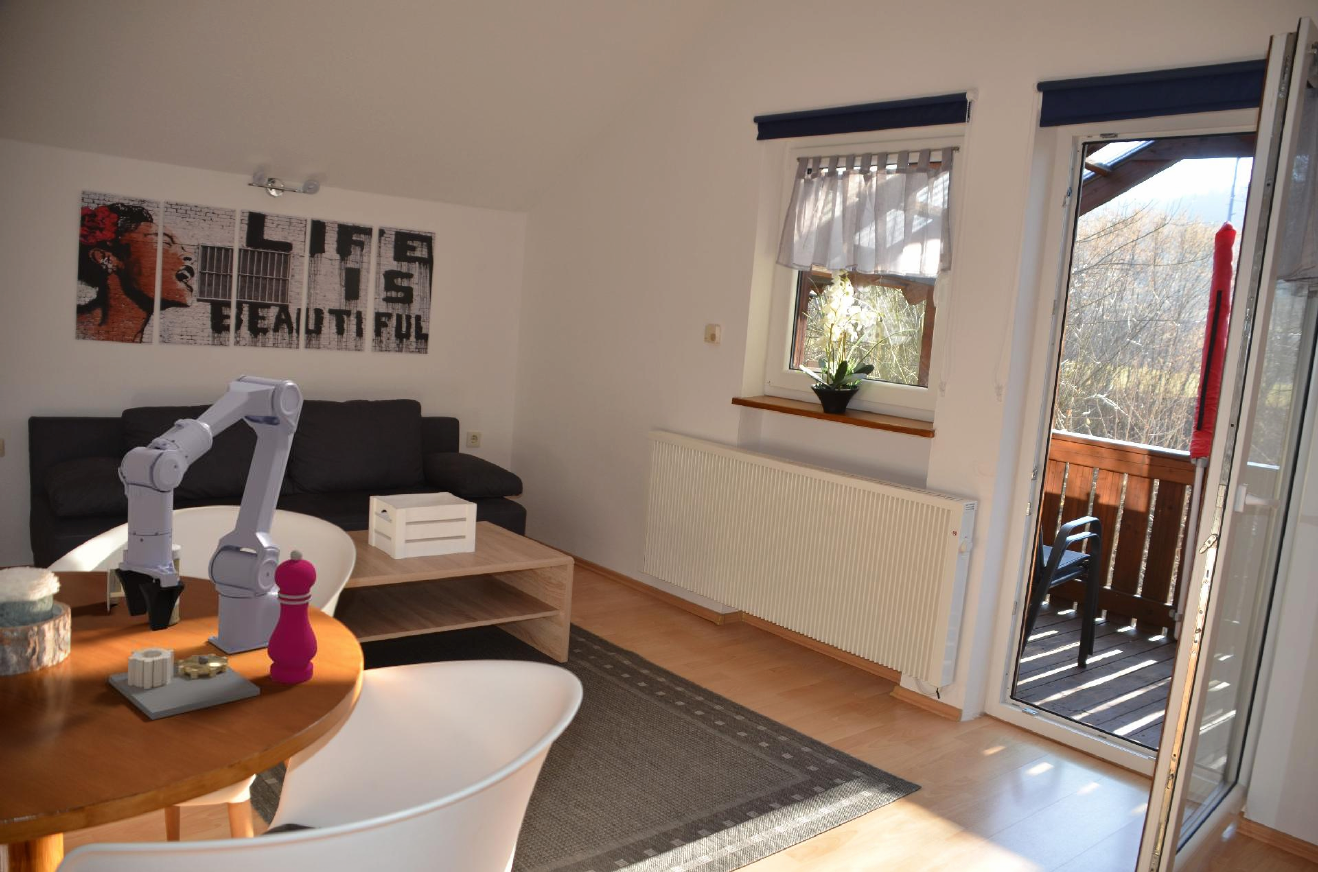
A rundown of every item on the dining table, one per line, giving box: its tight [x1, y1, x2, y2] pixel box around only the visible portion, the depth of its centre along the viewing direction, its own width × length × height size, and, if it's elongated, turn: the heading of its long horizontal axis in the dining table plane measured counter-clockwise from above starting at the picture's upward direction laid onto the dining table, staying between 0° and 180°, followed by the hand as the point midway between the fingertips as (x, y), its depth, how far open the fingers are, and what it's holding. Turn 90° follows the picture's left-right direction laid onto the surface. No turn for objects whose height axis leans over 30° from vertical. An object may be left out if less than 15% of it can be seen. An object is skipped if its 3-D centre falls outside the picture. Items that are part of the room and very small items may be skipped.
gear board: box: [108, 653, 261, 721], centre depth 148 cm, size 15×16×4 cm
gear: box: [127, 646, 175, 689], centre depth 147 cm, size 6×6×4 cm
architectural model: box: [106, 563, 125, 612], centre depth 179 cm, size 3×7×7 cm, turn 30°
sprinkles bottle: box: [153, 543, 182, 627], centre depth 173 cm, size 5×5×13 cm
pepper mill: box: [266, 549, 318, 684], centre depth 155 cm, size 7×7×20 cm
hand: (148, 621), depth 147 cm, fingers open, 7 cm apart
